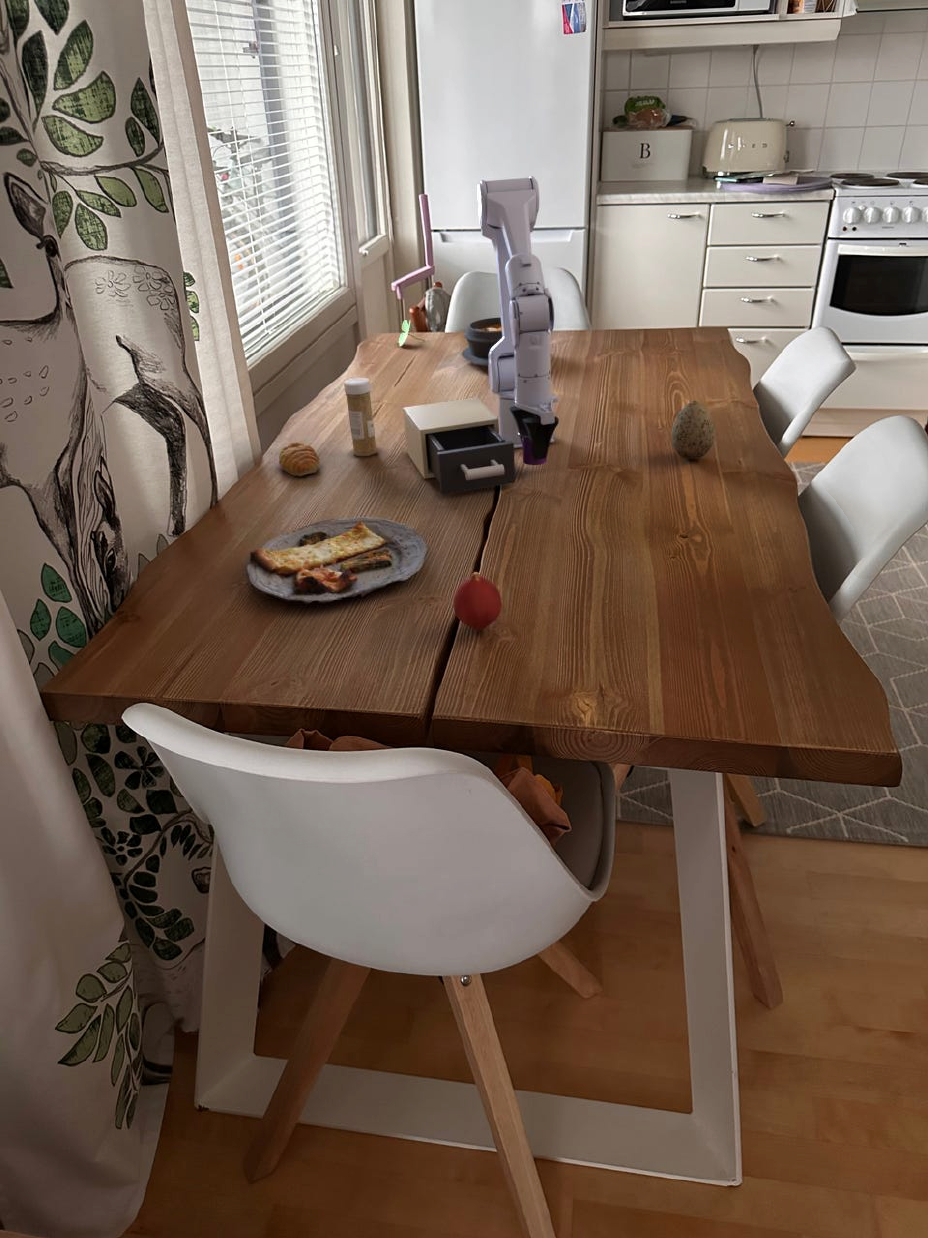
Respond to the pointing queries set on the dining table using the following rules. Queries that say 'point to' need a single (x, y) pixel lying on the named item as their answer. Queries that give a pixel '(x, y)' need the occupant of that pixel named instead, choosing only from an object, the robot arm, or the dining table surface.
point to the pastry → (299, 459)
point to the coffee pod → (528, 449)
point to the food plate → (336, 559)
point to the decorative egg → (693, 431)
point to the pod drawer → (470, 459)
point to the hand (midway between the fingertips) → (534, 453)
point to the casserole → (482, 340)
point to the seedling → (405, 328)
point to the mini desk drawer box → (441, 425)
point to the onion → (477, 602)
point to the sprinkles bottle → (360, 416)
